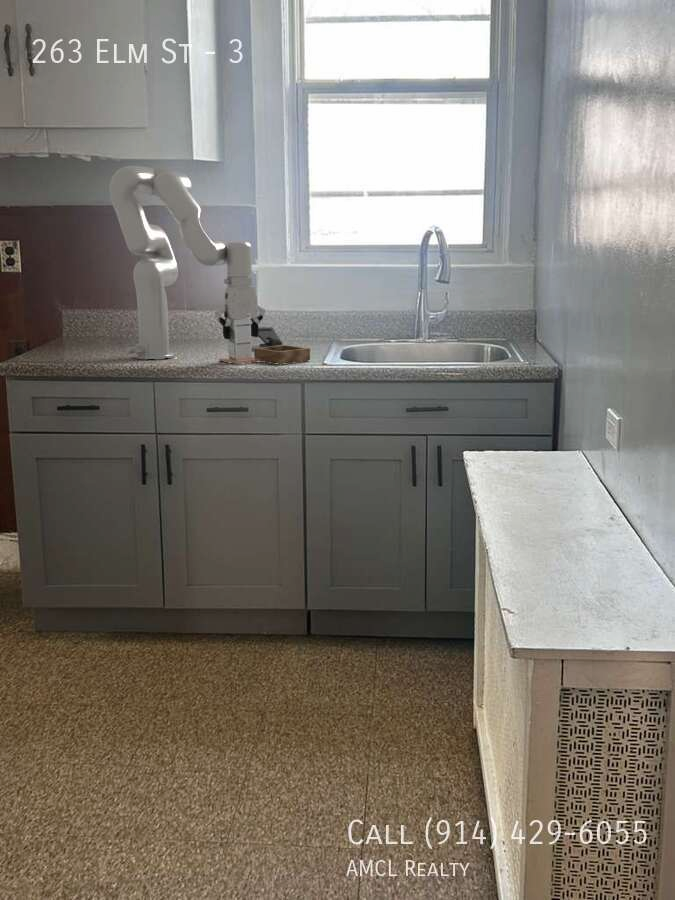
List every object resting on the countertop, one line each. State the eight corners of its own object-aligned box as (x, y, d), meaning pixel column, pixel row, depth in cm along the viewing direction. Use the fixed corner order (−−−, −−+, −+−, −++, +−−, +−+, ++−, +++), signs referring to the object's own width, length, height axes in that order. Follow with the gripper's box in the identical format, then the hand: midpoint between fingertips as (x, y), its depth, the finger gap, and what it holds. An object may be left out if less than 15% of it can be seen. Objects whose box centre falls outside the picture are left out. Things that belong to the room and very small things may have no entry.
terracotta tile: (239, 364, 322) (239, 361, 322) (218, 361, 329) (218, 358, 329) (263, 361, 329) (263, 358, 329) (243, 358, 336) (243, 355, 336)
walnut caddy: (280, 365, 322) (280, 352, 321) (254, 361, 331) (254, 348, 330) (310, 361, 330) (309, 348, 330) (283, 357, 339) (283, 344, 338)
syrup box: (252, 358, 328) (251, 312, 325) (235, 360, 325) (234, 313, 322) (245, 356, 333) (244, 310, 329) (227, 358, 330) (226, 311, 327)
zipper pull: (274, 326, 367) (290, 334, 344) (274, 345, 368) (291, 355, 345) (248, 327, 365) (264, 335, 341) (249, 346, 366) (264, 356, 343)
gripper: (220, 284, 316) (222, 340, 320) (270, 282, 325) (270, 337, 329) (209, 282, 322) (210, 338, 326) (257, 280, 332) (258, 334, 335)
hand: (240, 337), depth 328 cm, fingers open, 9 cm apart
